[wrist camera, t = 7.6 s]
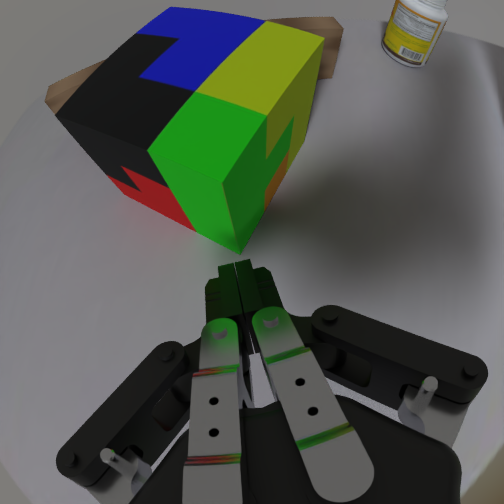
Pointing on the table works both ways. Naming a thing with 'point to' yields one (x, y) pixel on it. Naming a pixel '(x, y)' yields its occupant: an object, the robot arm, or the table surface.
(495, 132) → the table surface
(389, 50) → the supplement bottle
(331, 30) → the board
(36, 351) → the table surface
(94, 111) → the puzzle toy
